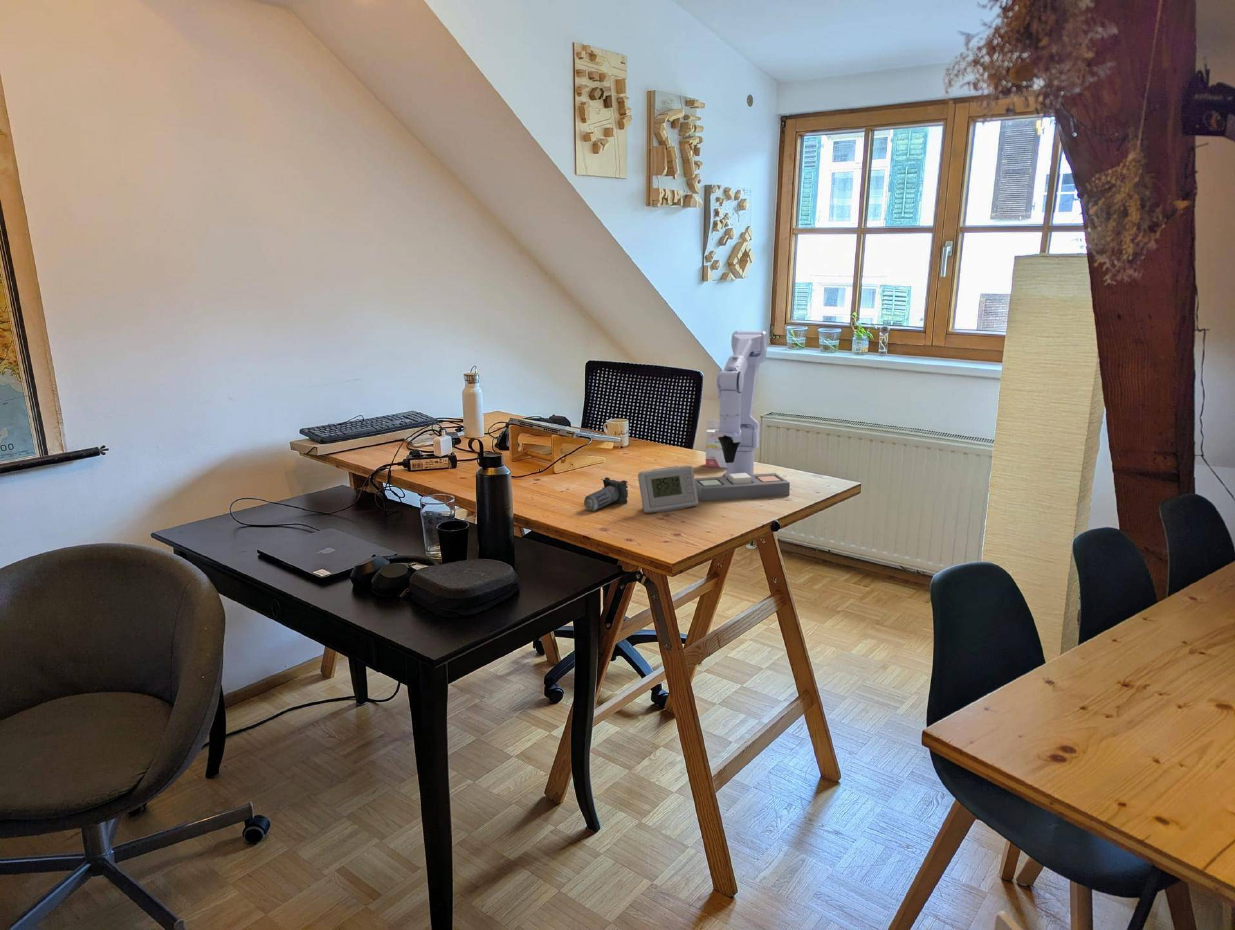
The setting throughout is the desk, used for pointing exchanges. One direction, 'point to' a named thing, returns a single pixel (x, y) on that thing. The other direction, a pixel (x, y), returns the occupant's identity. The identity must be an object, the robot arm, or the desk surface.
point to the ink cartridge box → (714, 446)
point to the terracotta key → (768, 479)
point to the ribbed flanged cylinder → (607, 494)
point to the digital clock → (668, 489)
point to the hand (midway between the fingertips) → (729, 462)
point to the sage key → (709, 483)
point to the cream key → (739, 478)
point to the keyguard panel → (742, 488)
